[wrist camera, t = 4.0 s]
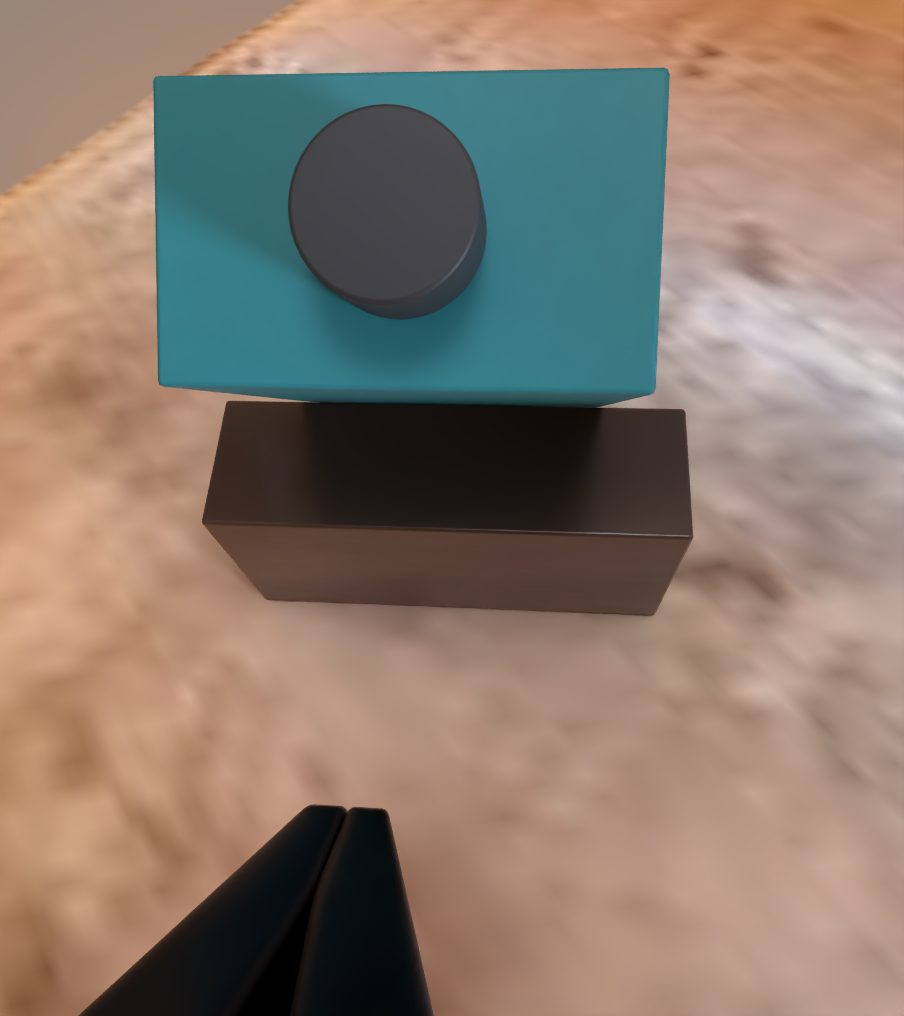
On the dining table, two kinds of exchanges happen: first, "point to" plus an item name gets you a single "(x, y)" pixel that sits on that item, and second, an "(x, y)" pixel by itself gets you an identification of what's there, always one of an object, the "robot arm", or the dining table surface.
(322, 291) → the plastic bottle
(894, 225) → the dining table surface
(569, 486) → the walnut block
